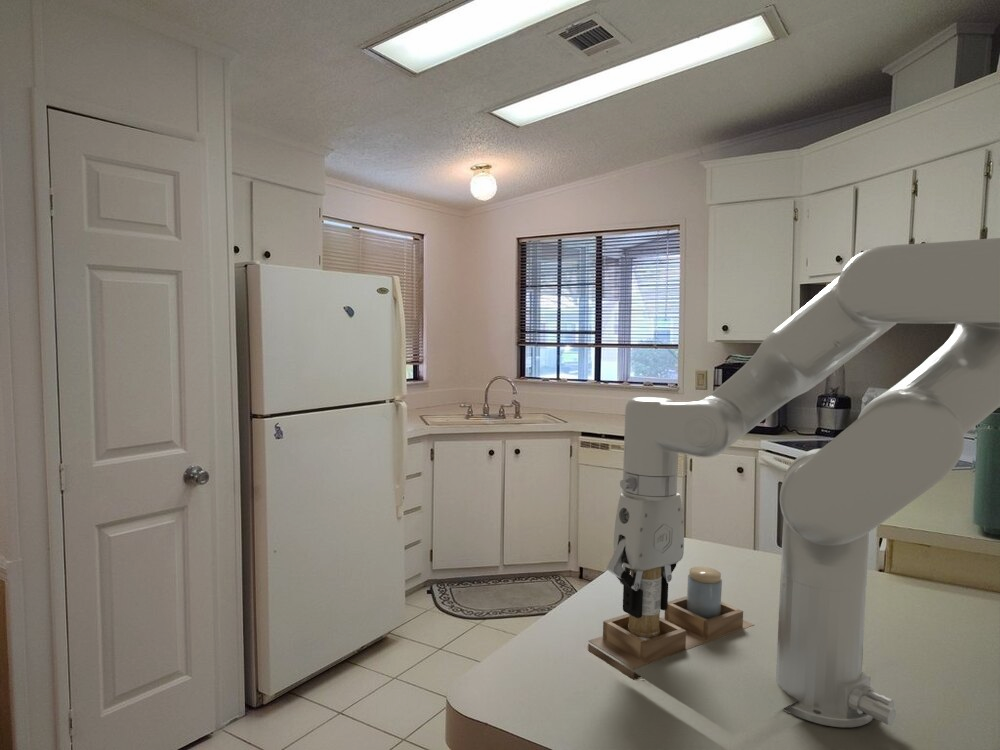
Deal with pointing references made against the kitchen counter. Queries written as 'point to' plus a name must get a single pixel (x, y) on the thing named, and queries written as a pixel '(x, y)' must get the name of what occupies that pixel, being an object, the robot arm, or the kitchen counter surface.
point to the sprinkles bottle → (648, 605)
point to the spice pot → (704, 592)
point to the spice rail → (663, 635)
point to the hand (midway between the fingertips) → (645, 609)
